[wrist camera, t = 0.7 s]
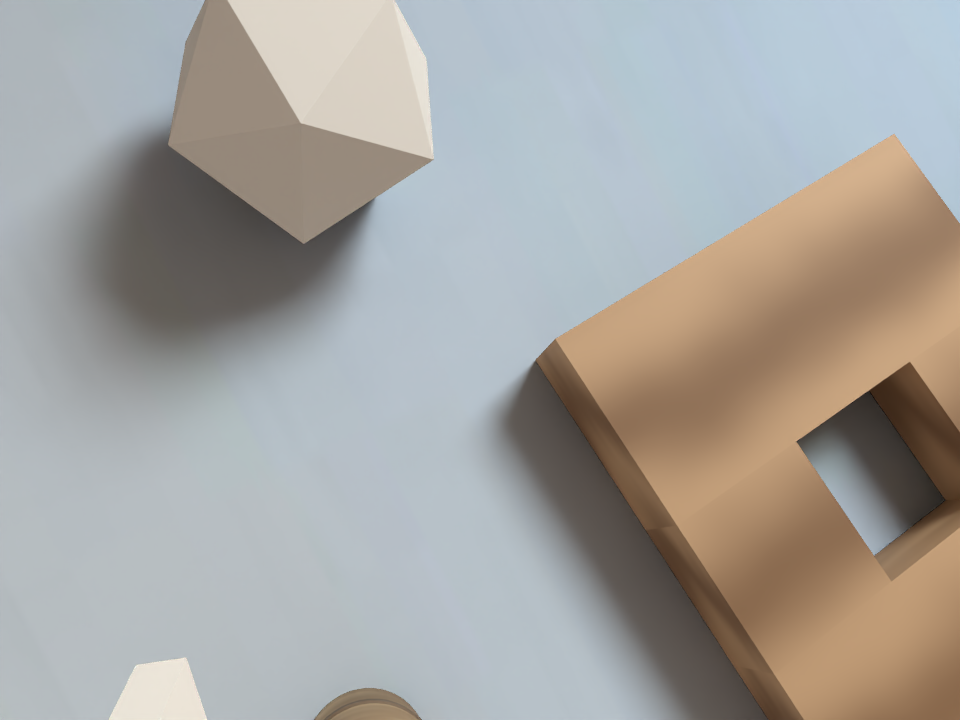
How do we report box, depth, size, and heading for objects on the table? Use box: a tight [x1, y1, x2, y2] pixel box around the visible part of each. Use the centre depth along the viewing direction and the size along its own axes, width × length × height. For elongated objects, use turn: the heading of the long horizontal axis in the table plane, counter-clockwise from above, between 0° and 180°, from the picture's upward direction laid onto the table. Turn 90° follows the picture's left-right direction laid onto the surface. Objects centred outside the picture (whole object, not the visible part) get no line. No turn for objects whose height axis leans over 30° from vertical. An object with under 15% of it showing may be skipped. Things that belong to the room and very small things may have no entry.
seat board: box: [536, 134, 960, 720], centre depth 32 cm, size 20×16×3 cm
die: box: [168, 0, 434, 244], centre depth 29 cm, size 8×9×10 cm
